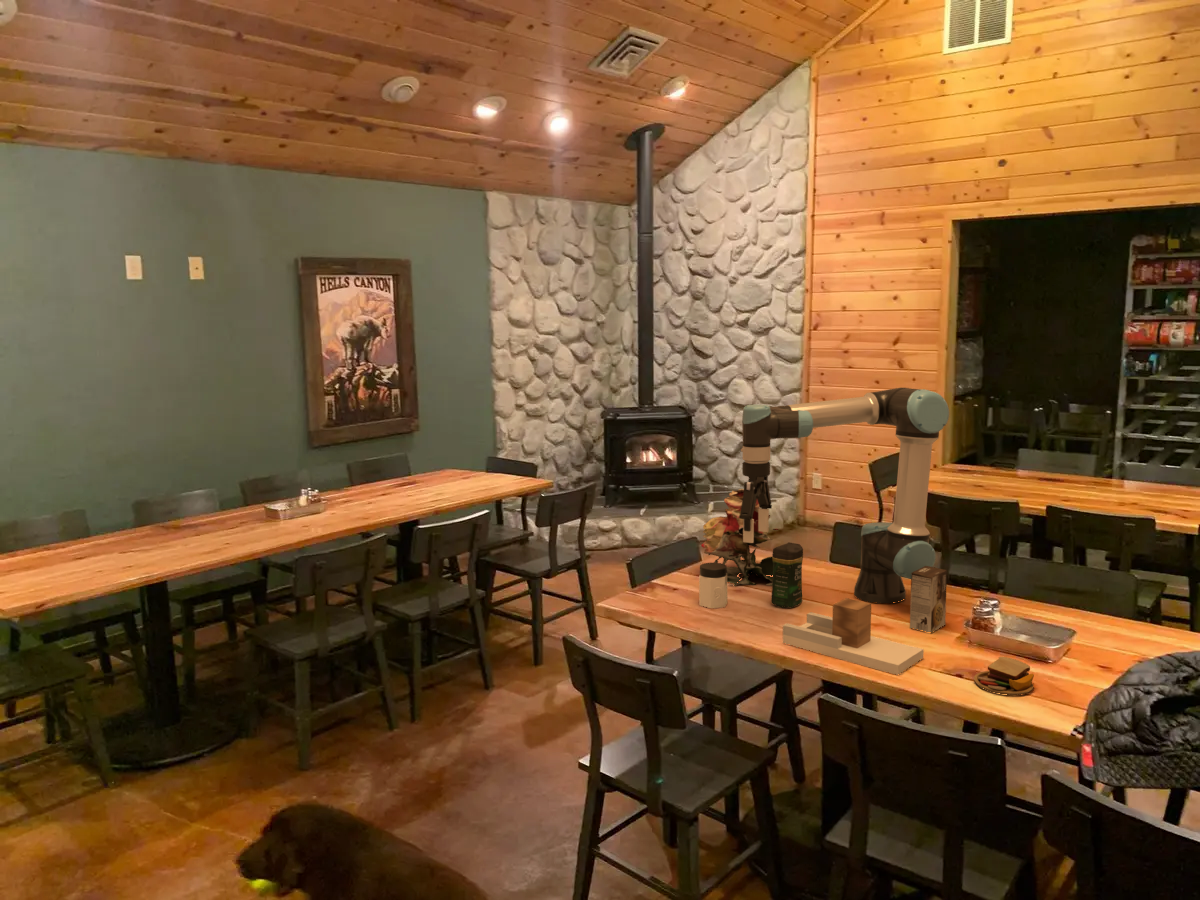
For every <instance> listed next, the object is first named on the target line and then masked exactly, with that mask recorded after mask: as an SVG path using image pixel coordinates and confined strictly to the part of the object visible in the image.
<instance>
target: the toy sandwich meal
mask: <svg viewBox="0 0 1200 900" xmlns="http://www.w3.org/2000/svg"><path fill="white" fill-rule="evenodd" d="M1030 670H1031V667H1030V665H1029V664H1027V663H1026V662H1023V661H1021V660H1018V659H1016V658H1013V657H1012V658H1011V657H1007V656H999V657H998V659H996V660H994V662H991V663H990V664H988V665H987V670H985V671H981V672H978V673H976V674H975V675H974V676H973V680H974V682H975V683H976V685H978V687H980V688H981V687H982V688H981V689H983V688H984V689H983V690H985V689H986V690H985V691H987V690H988V691H987V692H989V691H991V692H990V693H992V692H995V693H994V694H996V693H1000V694H999V695H1001V694H1007V695H1006V696H1010V695H1016V696H1022V695H1021V694H1023V695H1026V694H1028V693H1029V692H1031V691H1032V690H1033V689H1034V684H1033V679H1034V677H1035V674H1034V673H1029V672H1030ZM1025 693H1026V694H1025Z"/></svg>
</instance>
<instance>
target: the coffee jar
mask: <svg viewBox="0 0 1200 900" xmlns="http://www.w3.org/2000/svg"><path fill="white" fill-rule="evenodd" d="M771 557H772V559H773V583H772V582H771V583H772V587H771V600H770V601H771V604H772V605H773V606H775V607H777V608H780V607H781V608H782V609H784V608H787V609H792V608H795V607H797V606H799V605H801V604H802V602H803V580H802V579H803V574H802V572H803V571H802V569H803V559H804V548H803V546H802V545H801V544H799V543H794V542H787V543H784V544H781V545H779V546H776V547H773V548H772V555H771ZM781 608H780V609H781Z"/></svg>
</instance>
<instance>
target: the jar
mask: <svg viewBox="0 0 1200 900" xmlns="http://www.w3.org/2000/svg"><path fill="white" fill-rule="evenodd" d="M727 567H728V566H727V564H725V565H724V564H722V563H720V562H718V563H714V562H705V563H702V564H700V565H699V576H698V584H699V585H698V588H699V589H698V592H699V593H698V599H699V600H698V601H699V602H698V603H699V604H698V605H699V606H700V607H703V606H704V607H703V608H706V607H707V609H710V608H714V609H720V608H721V609H722V608H723V607H724V608H726V606H727V604H728V583H727Z"/></svg>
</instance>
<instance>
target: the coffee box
mask: <svg viewBox="0 0 1200 900" xmlns="http://www.w3.org/2000/svg"><path fill="white" fill-rule="evenodd" d="M947 572H948V571H947V569H942V568H938V567H934V566H933V567H930V566H924V567H922V568H920V569H918V570H916V571H914V572H912V573H911V579H910V580H911V581H910V608H909V609H910V610H909V613H910V615H909V629H910V628H914V629H918V630H923V631H926V632H933V631H935V630H937V629H938V630H940V629H941V628H943V627H945V626H946V617H947V616H946V614H947V613H946V611H947V610H946V608H947V580H948V579H947V575H948V573H947ZM944 625H945V626H944ZM942 626H943V627H942ZM940 627H941V628H940ZM939 628H940V629H939ZM938 630H937V631H938ZM935 632H936V631H935ZM933 633H934V632H933Z"/></svg>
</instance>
